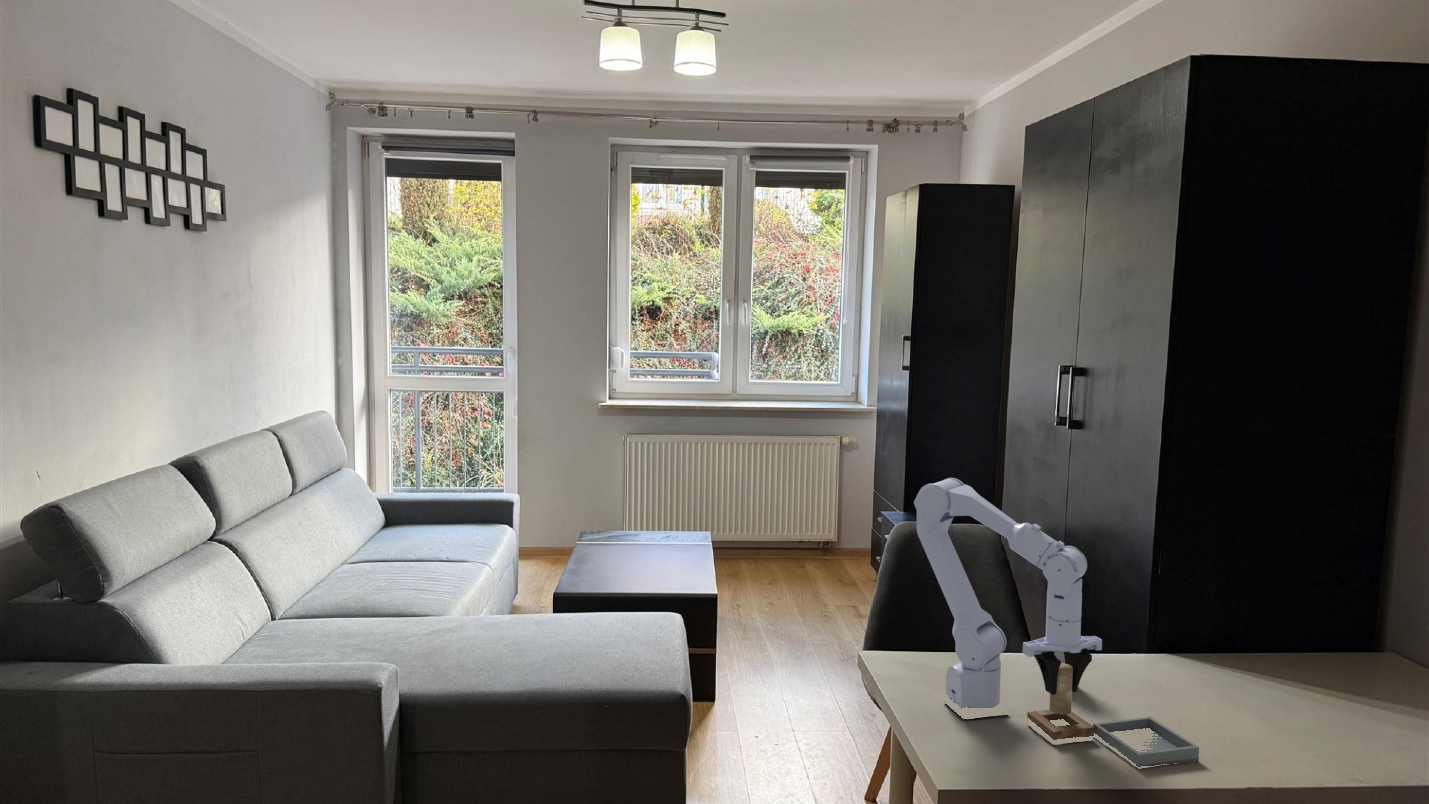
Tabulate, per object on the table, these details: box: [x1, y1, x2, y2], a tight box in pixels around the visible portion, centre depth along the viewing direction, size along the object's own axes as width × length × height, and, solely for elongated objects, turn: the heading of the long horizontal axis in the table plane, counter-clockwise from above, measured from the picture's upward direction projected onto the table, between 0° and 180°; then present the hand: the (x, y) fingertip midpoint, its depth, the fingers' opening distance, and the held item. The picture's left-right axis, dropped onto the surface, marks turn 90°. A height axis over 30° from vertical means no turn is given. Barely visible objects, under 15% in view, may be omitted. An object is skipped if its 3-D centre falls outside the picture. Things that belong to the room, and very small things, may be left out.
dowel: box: [1049, 663, 1073, 714], centre depth 156 cm, size 4×4×8 cm
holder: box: [1026, 709, 1094, 740], centre depth 156 cm, size 8×8×2 cm
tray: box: [1092, 716, 1200, 767], centre depth 150 cm, size 12×12×2 cm
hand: (1060, 691), depth 156 cm, fingers closed on dowel, 4 cm apart
